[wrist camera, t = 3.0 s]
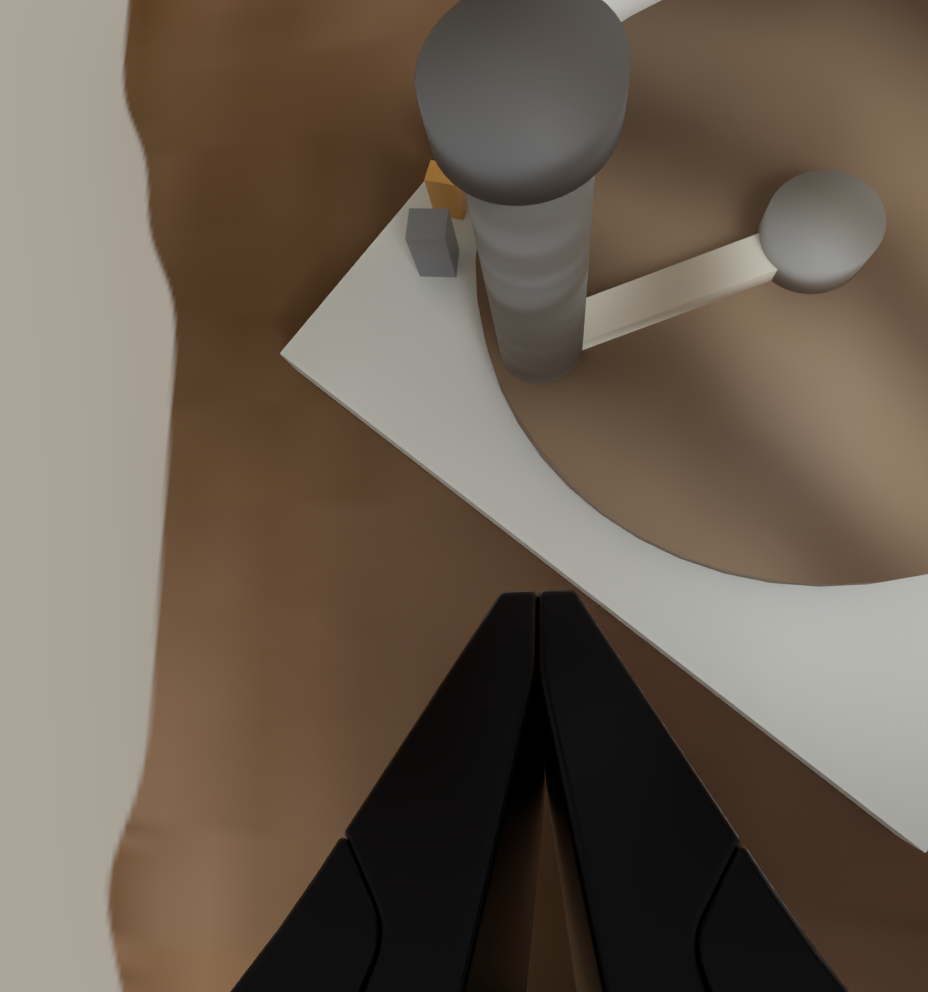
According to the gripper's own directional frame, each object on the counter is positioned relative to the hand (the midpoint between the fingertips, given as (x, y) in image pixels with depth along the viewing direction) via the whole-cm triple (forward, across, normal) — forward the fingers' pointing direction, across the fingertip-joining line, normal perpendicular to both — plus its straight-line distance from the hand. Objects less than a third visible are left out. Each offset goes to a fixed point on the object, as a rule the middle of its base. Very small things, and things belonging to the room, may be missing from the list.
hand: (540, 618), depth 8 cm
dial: (+16, -8, +1) cm, 18 cm away
